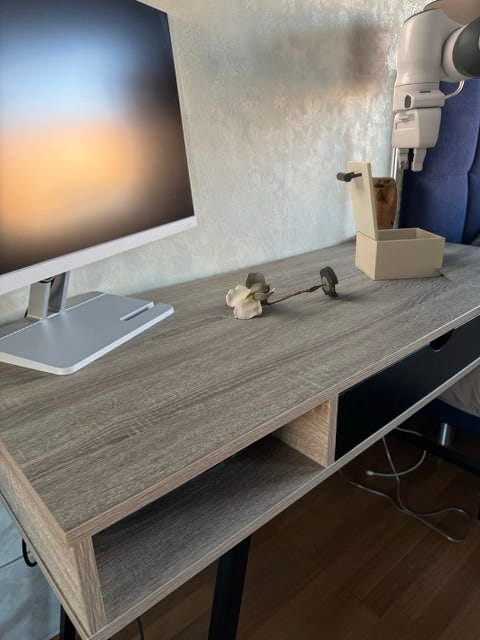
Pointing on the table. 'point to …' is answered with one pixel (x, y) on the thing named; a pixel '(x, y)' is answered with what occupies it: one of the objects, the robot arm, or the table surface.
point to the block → (385, 201)
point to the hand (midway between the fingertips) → (409, 170)
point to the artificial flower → (270, 293)
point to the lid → (362, 197)
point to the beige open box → (400, 254)
